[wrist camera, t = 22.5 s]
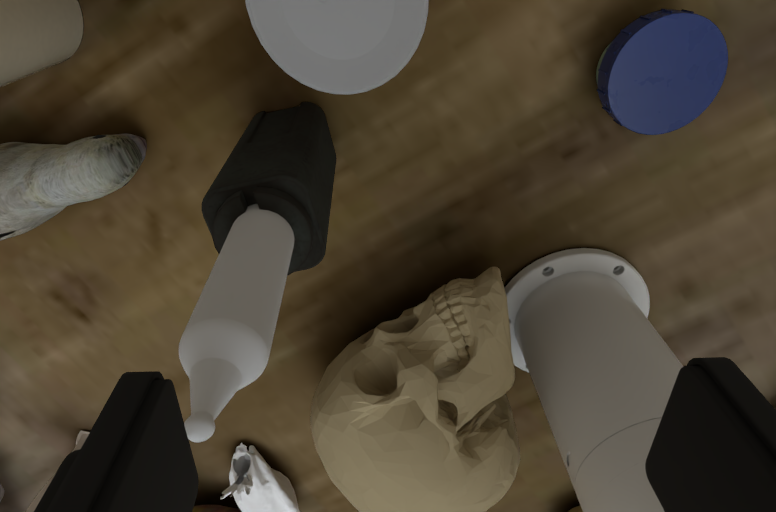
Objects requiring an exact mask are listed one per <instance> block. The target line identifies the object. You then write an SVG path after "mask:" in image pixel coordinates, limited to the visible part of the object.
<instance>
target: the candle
mask: <svg viewBox="0 0 776 512" xmlns="http://www.w3.org/2000/svg"><path fill="white" fill-rule="evenodd" d="M335 165H336V154H335V150H334V146H333V143H332V139H331V135H330V132H329V128H328V124H327V121H326V117H325V114H324V112H323V110H322V109H321V108H320V107H319V106H318V105H316V104H314V103H311V102H302V103H301V104H300V106H297V107H293V108H288V109H284V110H280V111H275V112H271V113H266V112H265V111H262V112H260V113H258V114H256V115H255V116H254V117H253V119H252V120H251V122H250V124H249V125H248V127H247V128H246V130H245V132H244V133H243V135H242V137H241V138H240V140H239V141H238V143H237V145H236V146H235V148H234V150H233V151H232V153H231V154H230V156H229V158H228V159H227V161H226V163H225V164H224V166H223V167H222V169H221V171H220V172H219V174H218V176H217V177H216V179H215V180H214V182H213V184H212V185H211V187H210V189H209V190H208V192H207V193H206V195H205V197H204V199H203V202H202V213H203V217H204V219H205V221H206V223H207V226H208V228H209V230H210V233H211V235H212V238H213V241H214V245H215V248H216V250H217V251H218V253H219V256H218V258H217V260H216V262H215V265H214V267H213V269H212V271H211V273H210V276H209V278H208V280H207V282H206V284H205V287H204V289H203V291H202V293H201V295H200V298H199V300H198V302H197V304H196V306H195V309H194V311H193V313H192V315H191V317H190V320H189V322H188V324H187V326H186V328H185V331H184V333H183V335H182V338H181V340H180V343H179V358H180V361H181V364H182V366H183V368H184V370H185V372H186V374H187V375H188V377H189V379H190V397H191V416H190V417H189V418H188V419H187V420H186V421H185V423H184V426H185V429H186V433H187V437H188V439H189V440H191V441H193V442H202V441H205V440H207V439H209V438H210V437H211V436H212V435H213V433H214V431H215V423H214V420H215V419H216V417H217V416H218V415H219V413H220V412H221V411H222V410H223V408H224V407H225V406H226V404H227V403H228V402H229V401H230V399H231V398H232V397H233V395H234V394H235V393H236V392H237V391H238V390H240V389H242V388H244V387H245V386H247V385H249V384H250V383H252V382H253V381H255V380H256V379H257V378H258V377H259V376H260V375H261V374H262V373H263V371H264V369H265V367H266V365H267V363H268V359H269V354H270V350H271V345H272V341H273V336H274V332H275V327H276V323H277V319H278V314H279V310H280V305H281V301H282V296H283V292H284V287H285V283H286V278H287V275H290V274H291V273H293V272H295V271H300V270H305V269H309V268H312V267H314V266H316V265H318V264H319V263H320V262H321V261H322V259H323V257H324V255H325V250H326V242H327V234H328V225H329V217H330V208H331V199H332V191H333V182H334V174H335Z"/></svg>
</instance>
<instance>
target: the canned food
mask: <svg viewBox="0 0 776 512" xmlns="http://www.w3.org/2000/svg"><path fill="white" fill-rule="evenodd" d="M245 1H246V7H247V10H248V14H249V17H250V20H251V24H252V27H253V29H254V31H255V33H256V35H257V37H258V39H259V41H260V43H261V44H262V46H263V47H264V49H265V50H266V51H267V53H268V54H269V55H270V57H271V58H272V60H273V61H274V62H275V63H276V64H277V65H278V66H280V67H281V68H282V69H283V70H284V71H285V72H286V73H287V74H288V75H290V76H291V77H293V78H294V79H296V80H297V81H299V82H300V83H302V84H304V85H306V86H309V87H311V88H313V89H315V90H318V91H322V92H327V93H331V94H356V93H361V92H367V91H369V90H371V89H374V88H376V87H379V86H381V85H383V84H384V83H386V82H387V81H389V80H390V79H392V78H393V77H394V76H396V75H397V74H398V73H399V72H400V71H401V70H402V69H403V68H404V66H405V65H406V64H407V63H408V62H409V60H410V59H411V57H412V56H413V54H414V52H415V51H416V49H417V48H418V45H419V43H420V40H421V38H422V35H423V33H424V29H425V25H426V20H427V15H428V0H245Z"/></svg>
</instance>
